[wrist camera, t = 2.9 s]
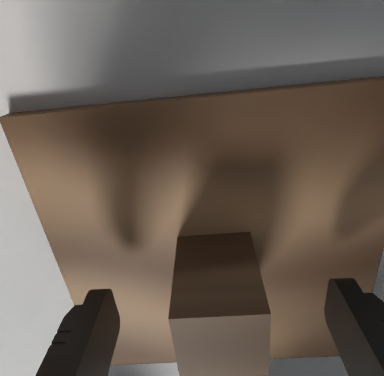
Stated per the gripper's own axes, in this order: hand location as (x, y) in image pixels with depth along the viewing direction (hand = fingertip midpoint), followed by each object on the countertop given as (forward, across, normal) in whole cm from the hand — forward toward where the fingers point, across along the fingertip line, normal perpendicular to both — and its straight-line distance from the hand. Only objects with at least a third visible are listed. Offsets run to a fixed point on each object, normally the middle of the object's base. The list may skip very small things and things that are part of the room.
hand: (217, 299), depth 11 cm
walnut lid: (+3, 0, 0) cm, 3 cm away
